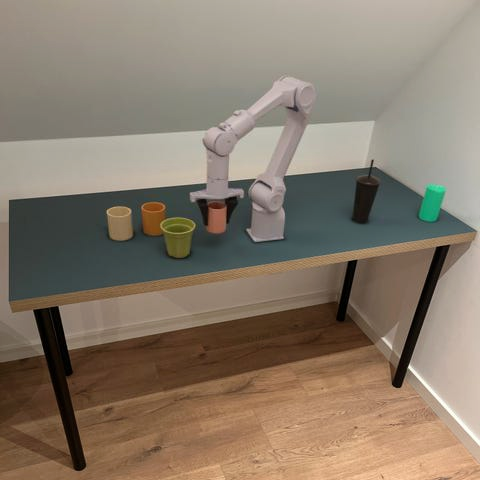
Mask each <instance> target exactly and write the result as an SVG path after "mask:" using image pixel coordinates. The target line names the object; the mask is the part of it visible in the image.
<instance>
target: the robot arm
mask: <svg viewBox="0 0 480 480" xmlns="http://www.w3.org/2000/svg"><path fill="white" fill-rule="evenodd" d="M317 98H318V96H317V92H316V89H315V86H314V85H313V84H312V83H311V82H308V81H304V80H302V79H298V78H295V77H292V76H291V75H288V74H285V75H282V76H281V77H280V78H279V79H278V80H276V81H274V82H273V84H272V87H271V89H269V90H268V91H267V92H266V93H265V94H264V95H262V97H261V98H260V99H258V100H256V102H255V103H253V104H252V105H251V106H250V107H249V108H247V110H245V109H236V110H235V111H234V112H233V114H232V115H231V116H229V117H228V118H227V119H226V120H225V121H223V122H220V123H219V125H218V126H213V127H210V128H209V129H207V131H206V132H205V134H204V137H203V138H202V140H201V141H202V144H203V147H205V151H206V188H205V189H202V190H197V191H192V192H189V201H190V202H191V203H196V204H197V206H198V209H199V210H200V214H201V217H202V223H203V225H204V227H206V226H207V225H208V208H209V206H208V204H207V203H208V201H211V200H224V203H225V204H226V205H227V219H226V225H229V224H230V221H231V217H232V215H233V212H234V211H235V209H236V208H237V206H238V204H239V200H238V198H239V199H244V198H245V197H244V196H245V192H244V190H243V189H242V188H234V187H233V188H232V187H231V188H230V187H229V172H230V171H229V169H230V154H231V153H233V151H234V149H235V147H236V144H237V143H238V142H239V141H241V139H242V138H244V137H245V136H246V135H248V134H249V133H250V132H252V131H253V130H254V129H255V124H256V122H257V121H259V120H260V119H262V118H264V116H266V115H268V114H269V113H271V112H272V111H273V110H275V109H277V108H278V107H283V108H284V109H285V112H286V115H287V119H286V122H285V124H284V127H283V128H282V132H281V134H280V136H279V139H278V141H277V143H276V146H275V148H274V151H273V153H272V155H271V158H270V160H269V162H268V164H267V167H266V169H265V171H264V172H262V173H260V174H258V175H257V176H256V178H255V180H254V182H253V183H252V184H251V185H250V187H249V188H248V193H247V194H248V199H249V200H250V201H251V205H252V211H251V224H250V225H251V226H250V228H246V230H245V231H246V233H247V234H248V235H249V237H250V238H251V239H252V241H253V242H254V243H259V242H269V241H278V240H284V239H285V237H284V230H285V225H286V224H285V223H286V213H285V210H284V207H283V204H284V199H285V194H286V192H287V188H286V185H285V182H284V179H285V176H286V174H287V171H288V169H289V167H290V165H291V163H292V161H293V158H294V156H295V154H296V151H297V149H298V147H299V144H300V143H301V140H302V137H303V136H304V133H305V130H306V128H307V126H308V124H309V122H310V119H311V115H312V109H313V107H314V105H315V102H316V101H317Z"/></svg>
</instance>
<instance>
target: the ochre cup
mask: <svg viewBox="0 0 480 480" xmlns="http://www.w3.org/2000/svg"><path fill="white" fill-rule="evenodd" d="M140 209H141V223H142V231H143V233H144V235H145V234H146V235H148V236H153V237H155V236H161V235H164V233H163V230H162V229H161V227H160V225H161V223H162V222H163V221H164V220H167V218H166V217H167V215H166V205H165V204H163V203H162V202H157V201H156V202H155V201H149V202H147V203H146V202H145V203H144V204H142V205H141V208H140Z"/></svg>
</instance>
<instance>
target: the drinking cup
mask: <svg viewBox="0 0 480 480" xmlns="http://www.w3.org/2000/svg"><path fill="white" fill-rule="evenodd" d="M374 161H375V159H374V158H373V159H371V161H370V166H369V170H368V174H363V175H358V176H357V177H356V178H355V182H356V183H355V191H354V201H353V210H352V219H351V220H352V221H353V222H354V223H356V224H366V223H368V220H369V217H370V214H371V212H372V208H373V205H374V202H375V199H376V196H377V193H378V189H379V187H380V185H381V183H382V180H381V179H380V178H378V177H376V176H375V175H372V171H373V166H374Z"/></svg>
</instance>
